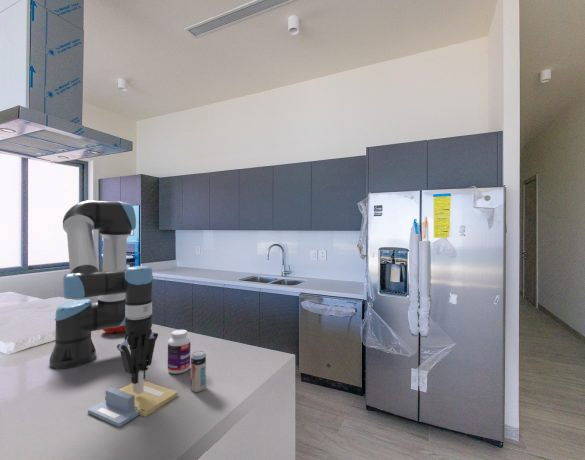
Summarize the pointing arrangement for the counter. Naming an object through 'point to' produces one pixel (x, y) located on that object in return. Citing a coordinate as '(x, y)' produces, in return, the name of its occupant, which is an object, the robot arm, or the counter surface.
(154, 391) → the tan notebook
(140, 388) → the robot arm
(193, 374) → the beer can
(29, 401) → the counter surface
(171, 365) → the pill bottle
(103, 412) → the stub
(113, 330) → the red rounded piece
